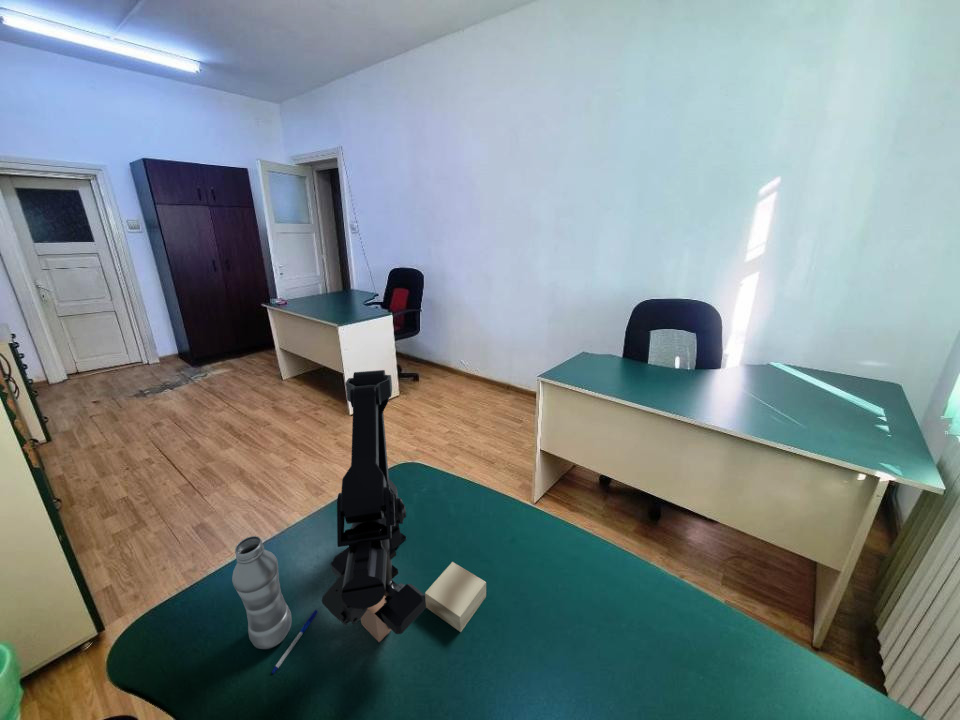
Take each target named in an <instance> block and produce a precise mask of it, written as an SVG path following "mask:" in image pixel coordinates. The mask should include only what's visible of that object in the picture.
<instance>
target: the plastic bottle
mask: <svg viewBox="0 0 960 720" xmlns="http://www.w3.org/2000/svg"><path fill="white" fill-rule="evenodd" d="M234 554H235V559H236V562H237V563H236V564H235V567H234V569H233V571H232V578H231V579H232V580H231V581H232V584H233V588H234V589H235V590H236V592H237V594H238V596H239V597H240V599H241V601H242V603H243V606H244V608H245V611H246V617H247V622H248V623H247V625H248V626H247V629H248V630H247V632H248V638H249V640H250V643H252V645H253V646H254V647H255V648H256V649H260V650H270V649H272V648H274V647H276V646H278V645H279V644H280V643H282V642H283V641H284V640H285V638H286V636H287V635H288V633H290V630H291V628H292V612H291V610H290V607H289V605H288V604H287V602H286V600H285V598H284V596H283V594H282V593H283V592H282V590H281V583H280V576H279V575H280V574H279V563H278V558H277V557H276V556H275V554H274V553H273V552H271V551H270V550H267V549H265V546H264V543H263V540H262V538H261V537H260V536H257V535H252V536H248V537H245V538H244V539H241V540H240V541H239V542H238V543H237V544H236V546H235V549H234Z"/></svg>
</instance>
